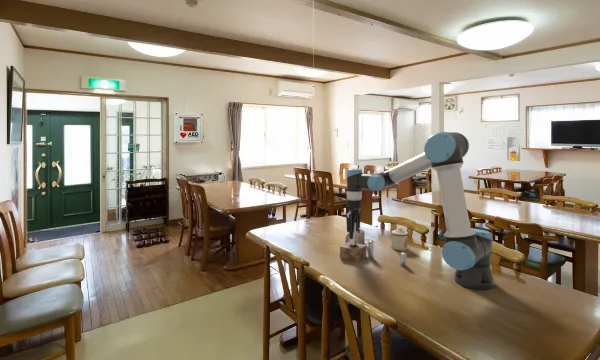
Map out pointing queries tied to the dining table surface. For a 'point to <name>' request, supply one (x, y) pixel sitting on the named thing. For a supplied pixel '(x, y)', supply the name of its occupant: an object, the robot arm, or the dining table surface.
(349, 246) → the hole block
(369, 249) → the pin medium
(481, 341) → the dining table surface
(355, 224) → the pin long
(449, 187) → the robot arm
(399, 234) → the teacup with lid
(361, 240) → the food item
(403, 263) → the pin short
